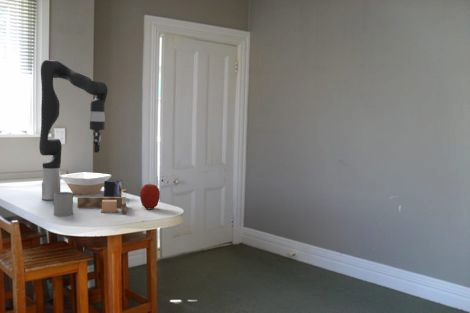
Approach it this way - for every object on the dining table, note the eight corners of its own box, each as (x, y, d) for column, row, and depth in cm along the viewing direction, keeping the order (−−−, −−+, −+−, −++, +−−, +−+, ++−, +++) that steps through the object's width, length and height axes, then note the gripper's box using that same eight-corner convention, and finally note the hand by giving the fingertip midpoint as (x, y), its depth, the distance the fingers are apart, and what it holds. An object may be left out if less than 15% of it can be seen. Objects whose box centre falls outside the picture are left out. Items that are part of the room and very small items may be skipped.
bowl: (56, 193, 299) (56, 175, 298) (83, 188, 322) (83, 171, 321) (89, 197, 290) (89, 178, 289) (114, 191, 313) (115, 174, 312)
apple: (147, 211, 255) (147, 183, 254) (135, 208, 262) (136, 181, 261) (163, 209, 262) (164, 182, 261) (151, 206, 269) (152, 180, 268)
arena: (74, 214, 241) (74, 204, 241) (77, 206, 261) (77, 197, 261) (125, 214, 247) (126, 203, 246) (125, 206, 266) (125, 196, 266)
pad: (100, 212, 248) (100, 211, 248) (101, 210, 253) (101, 209, 253) (117, 212, 250) (117, 211, 250) (117, 210, 255) (117, 209, 255)
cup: (56, 212, 245) (56, 191, 245) (74, 212, 246) (74, 192, 245) (52, 216, 237) (52, 194, 236) (70, 216, 238) (70, 195, 237)
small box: (114, 200, 283) (114, 181, 282) (103, 199, 284) (103, 180, 284) (122, 197, 293) (122, 179, 293) (111, 196, 295) (111, 178, 294)
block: (116, 211, 251) (116, 201, 250) (101, 211, 249) (101, 201, 249) (116, 209, 255) (116, 199, 254) (102, 210, 253) (102, 200, 253)
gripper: (104, 121, 258) (103, 153, 259) (105, 120, 272) (104, 150, 273) (88, 120, 256) (88, 152, 258) (90, 120, 270) (90, 150, 272)
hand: (96, 151), depth 265 cm, fingers open, 8 cm apart
